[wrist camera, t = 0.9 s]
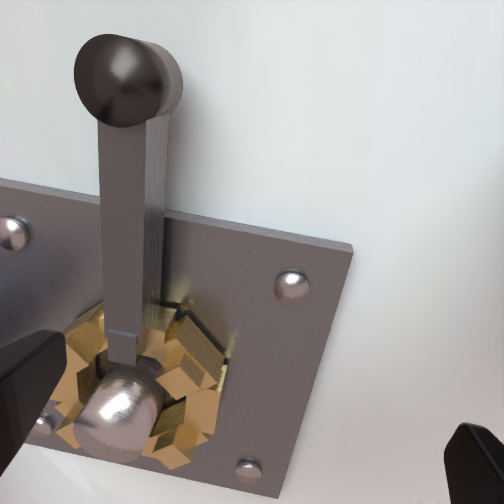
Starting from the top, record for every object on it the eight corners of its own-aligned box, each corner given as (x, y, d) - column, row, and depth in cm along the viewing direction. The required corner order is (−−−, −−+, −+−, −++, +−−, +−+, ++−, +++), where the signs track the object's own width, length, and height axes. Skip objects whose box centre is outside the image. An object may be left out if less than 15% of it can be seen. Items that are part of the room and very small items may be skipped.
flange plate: (351, 244, 19) (371, 312, 13) (278, 485, 27) (273, 584, 22) (-26, 173, 20) (-150, 210, 14) (21, 428, 28) (-44, 511, 23)
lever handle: (276, 63, 14) (269, 60, 11) (215, 440, 24) (202, 495, 21) (36, 23, 15) (-35, 9, 12) (72, 409, 25) (38, 458, 22)
